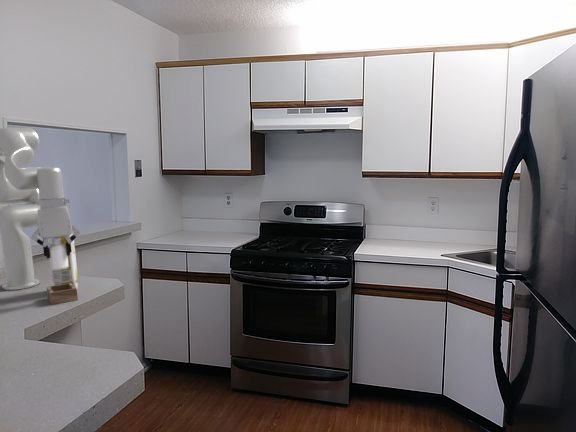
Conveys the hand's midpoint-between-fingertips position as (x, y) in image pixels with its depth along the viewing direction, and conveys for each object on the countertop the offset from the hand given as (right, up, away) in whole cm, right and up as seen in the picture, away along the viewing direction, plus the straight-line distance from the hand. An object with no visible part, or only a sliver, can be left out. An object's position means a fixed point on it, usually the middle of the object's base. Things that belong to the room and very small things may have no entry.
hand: (58, 255), depth 158 cm
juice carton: (-3, -14, +13) cm, 19 cm away
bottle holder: (0, -15, +2) cm, 15 cm away
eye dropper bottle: (0, -5, +1) cm, 5 cm away
